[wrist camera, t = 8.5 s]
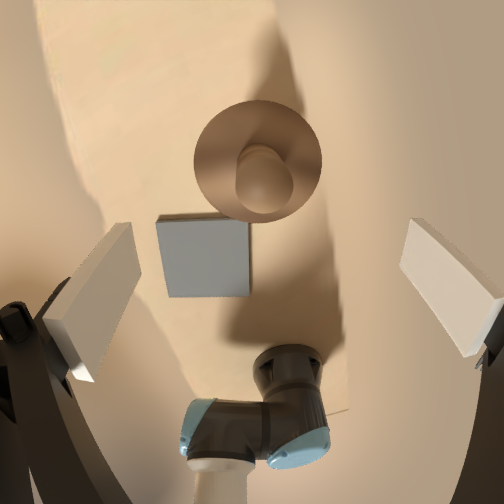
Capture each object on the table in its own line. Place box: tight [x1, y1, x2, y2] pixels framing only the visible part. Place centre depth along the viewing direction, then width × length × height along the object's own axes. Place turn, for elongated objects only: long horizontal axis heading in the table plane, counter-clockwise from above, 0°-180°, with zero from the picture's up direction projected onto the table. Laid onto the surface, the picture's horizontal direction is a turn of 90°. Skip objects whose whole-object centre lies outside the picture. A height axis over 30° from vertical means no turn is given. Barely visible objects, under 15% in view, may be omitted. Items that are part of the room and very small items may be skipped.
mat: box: [156, 218, 249, 297], centre depth 47 cm, size 14×14×1 cm
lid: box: [194, 100, 322, 223], centre depth 24 cm, size 12×12×9 cm
